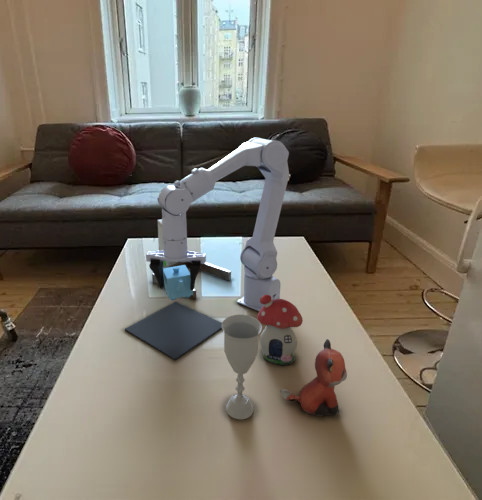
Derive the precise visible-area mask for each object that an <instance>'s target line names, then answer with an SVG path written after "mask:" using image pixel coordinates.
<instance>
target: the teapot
mask: <svg viewBox="0 0 482 500" xmlns="http://www.w3.org/2000/svg"><path fill="white" fill-rule="evenodd" d="M163 276H164V285H165V288H164V289H165V292H166V295H167V296H168V299H169V300H171V301H176V300H177V299H178V298H179V299H180V298H187V297H190V295H193V290H191V289H190V283H191V277H190V269H189V268H187V267H186V265H181V266H175V267H169V268H165V267H163ZM187 299H188V298H187Z"/></svg>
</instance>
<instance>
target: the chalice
mask: <svg viewBox="0 0 482 500" xmlns="http://www.w3.org/2000/svg"><path fill="white" fill-rule="evenodd" d="M221 323H222V329H221V330H222V332H223V336H224V338H223V339H224V340H223V348H224V349H223V350H224V354H225V357H226V360H227V362H228V363H229V365H230V367H231V369H232V370H233V372H234V373H235V374H237V377H236V378H235V381H236V383H237V384H236V385H235V387H234V388H235V390H236V393H234V394H232V396H231V397H229V400H228V402H227V403H226V405H225V412H226V413H227V414H228V415H229V416H230V417H231V418H233V419H236V420H245V419H248V418H250V417H251V416H252V415H253V413H254V407H253V404H252V402H251V401H250V398H249V397H248V396H247V395H245V394H244V393H243V392H244V391H245V389H246V387H245V386H244V384H243V383H244V382H245V377H244V374H247V373H248V372H249V370H250V369H251V368H252V366H253V365H254V362H255V360H256V358H257V356H258V353H259V342H260V340H259V339H260V335H261V333H262V331H263V324H261V323H260V322H259V320H257V317H254V316H251V315H248V314H234V315H229V316H228V317H226V318H224V320H222V322H221Z"/></svg>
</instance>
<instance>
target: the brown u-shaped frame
mask: <svg viewBox="0 0 482 500" xmlns="http://www.w3.org/2000/svg"><path fill="white" fill-rule="evenodd" d="M181 265H186V267H187V269H189V267H190V265H191V262H178V263H175V264H173V265H171V266H169V267H175V266H181ZM169 267H166V268H169ZM199 271H200V272H204V273H207V274H208V275H209V274H210V275H211V276H214V277H218V278H220V279H222V280H224V281H225V280H226V281H228V282H229V281H231V280H232V271H231V270H229V269H227V268H223V267H221V266H218V265H214V264H212V263H209V262H207V261H206V262H205V264H201V267H200V269H199ZM151 277H152V279H151V280H152V283H153V284H156V285H157V286H159V284H158V281H157V279H156V277H155V275H154V273H153V272H152V273H151ZM163 288H164V289H165V285H164V286H163ZM187 299H190V300H192V301H195V300H197V289H196V288H194V290H193V295H190V297H187Z"/></svg>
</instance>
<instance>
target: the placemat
mask: <svg viewBox="0 0 482 500" xmlns="http://www.w3.org/2000/svg"><path fill="white" fill-rule="evenodd" d="M221 330H223V329H222V322H221V321H220V320H219V321H218V320H216V319H214V318H213V317H210V316H208V315H206V314H204V313H202V312H199V311H197V310H194V309H193V308H190V307H188V306H187V305H185V304H182V303H180V302H177V301H174V302H172V303H170V304H168V305H167V306H165V307H163V308H161V309H159V310H157V311H155V312H154V313H151V314H150V315H148V316H146V317H144V318H143V319H141V320H138V321H137V322H135V323H133V324H131V325H129V326H127V327H125V328H124V331H126V332H127V333H129V334H131V335H132V336H134V337H135V338H137V339H139V340H141V341H143V342H144V343H145V344H147V345H149V346H150V347H152V348H153V349H156V350H158V351H159V352H160V353H163V354H164V355H165V356H167V357H168V358H170V359H172V360H174V361H176V360H178V359H180V358H181V357H182V356H184V355H186V354H187V353H188V352H190V351H191V350H193V349H195V348H196V347H197V346H200V345H201V344H202V343H204V341H206V340H208V339H209V338H210V337H212V336H213V335H215V334H216V333H218V332H220V331H221Z"/></svg>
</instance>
